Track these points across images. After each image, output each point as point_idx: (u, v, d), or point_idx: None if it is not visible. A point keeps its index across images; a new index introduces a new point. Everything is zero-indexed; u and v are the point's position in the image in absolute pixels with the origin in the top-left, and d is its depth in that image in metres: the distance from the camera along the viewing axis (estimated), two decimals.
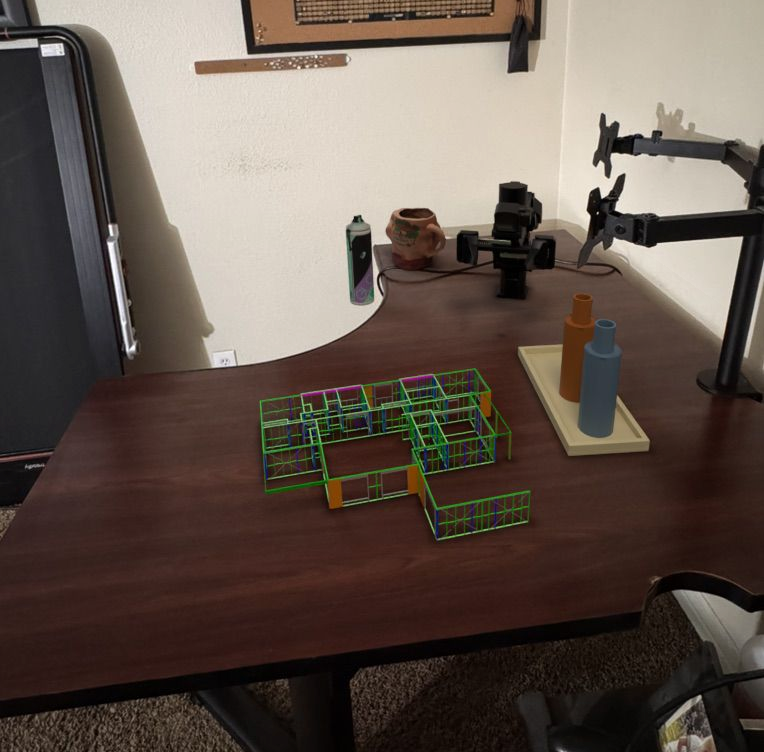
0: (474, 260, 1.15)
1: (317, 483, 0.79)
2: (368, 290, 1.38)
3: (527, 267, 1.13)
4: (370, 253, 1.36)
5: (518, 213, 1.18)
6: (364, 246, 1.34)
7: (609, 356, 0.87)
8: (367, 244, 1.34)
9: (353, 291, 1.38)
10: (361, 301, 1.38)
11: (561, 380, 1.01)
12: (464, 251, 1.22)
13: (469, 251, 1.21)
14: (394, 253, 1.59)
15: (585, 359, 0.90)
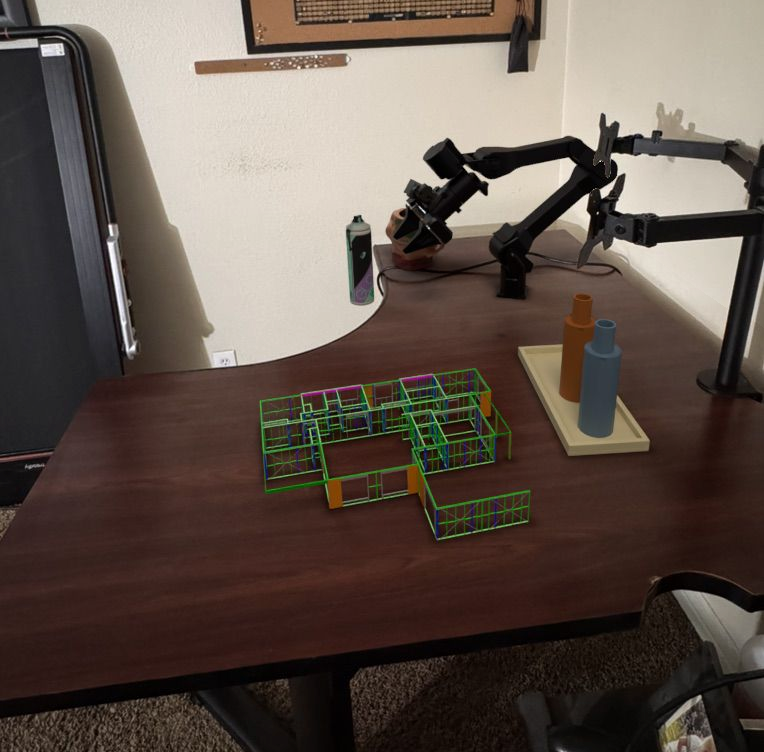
0: (393, 236, 1.37)
1: (317, 483, 0.79)
2: (368, 290, 1.38)
3: (406, 252, 1.28)
4: (370, 253, 1.36)
5: (410, 195, 1.27)
6: (364, 246, 1.34)
7: (609, 356, 0.87)
8: (367, 244, 1.34)
9: (353, 291, 1.38)
10: (361, 301, 1.38)
11: (561, 380, 1.01)
12: None
13: None
14: (394, 253, 1.59)
15: (585, 359, 0.90)
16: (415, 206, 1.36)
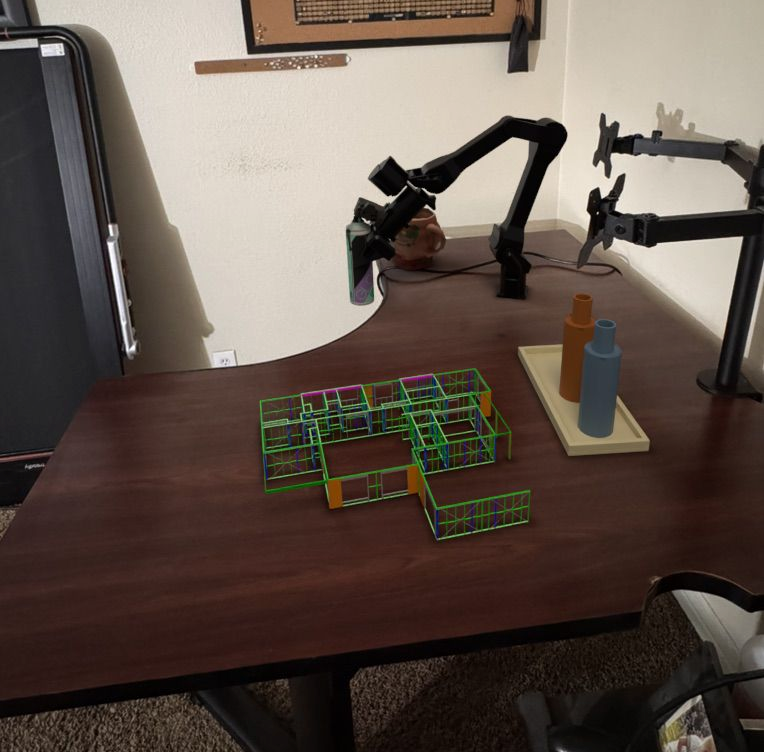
0: None
1: (317, 483, 0.79)
2: (368, 290, 1.38)
3: (356, 266, 1.35)
4: None
5: (356, 214, 1.32)
6: None
7: (609, 356, 0.87)
8: None
9: (353, 291, 1.38)
10: (361, 301, 1.38)
11: (561, 380, 1.01)
12: None
13: None
14: None
15: (585, 359, 0.90)
16: (372, 224, 1.39)
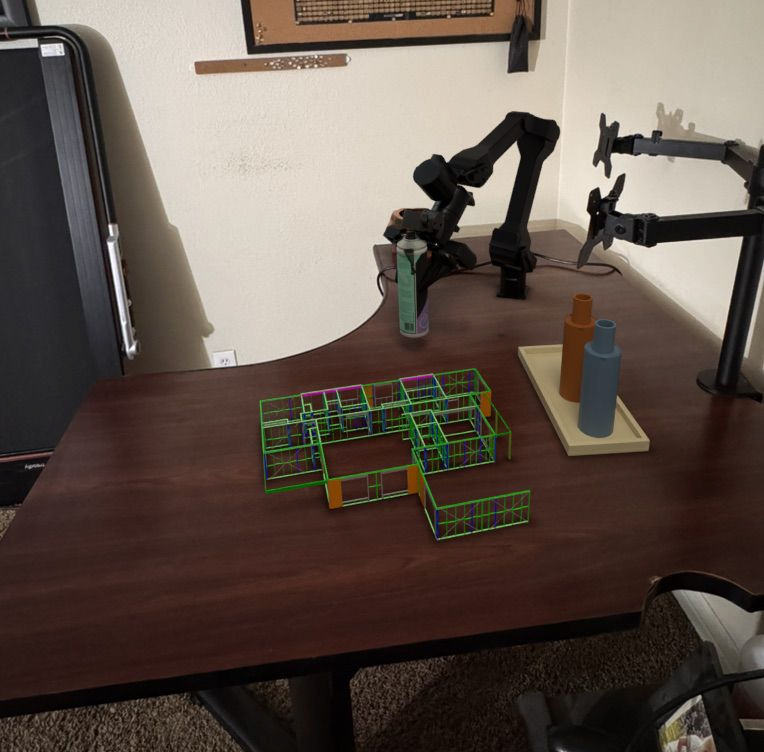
0: (395, 280, 1.16)
1: (317, 483, 0.79)
2: (428, 315, 1.17)
3: (423, 289, 1.13)
4: None
5: (419, 228, 1.10)
6: (426, 264, 1.13)
7: (609, 356, 0.87)
8: None
9: (415, 321, 1.15)
10: (424, 330, 1.17)
11: (561, 380, 1.01)
12: None
13: None
14: (394, 253, 1.59)
15: (585, 359, 0.90)
16: None
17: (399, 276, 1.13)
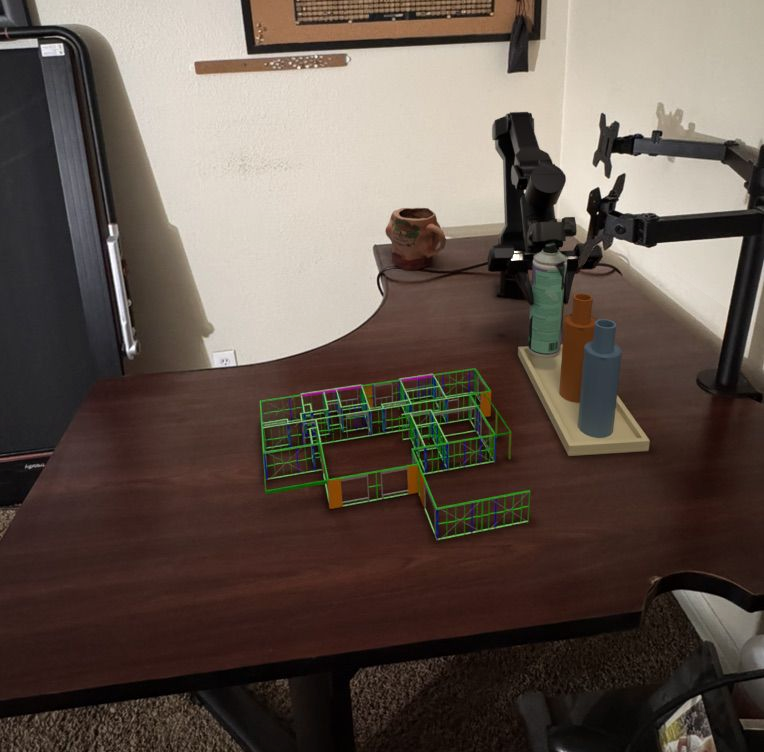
0: (532, 302, 1.05)
1: (317, 483, 0.79)
2: None
3: None
4: None
5: (564, 238, 1.02)
6: None
7: (609, 356, 0.87)
8: None
9: (559, 338, 1.07)
10: None
11: (561, 380, 1.01)
12: (510, 270, 1.08)
13: (515, 270, 1.08)
14: (394, 253, 1.59)
15: (585, 359, 0.90)
16: None
17: (545, 295, 1.03)
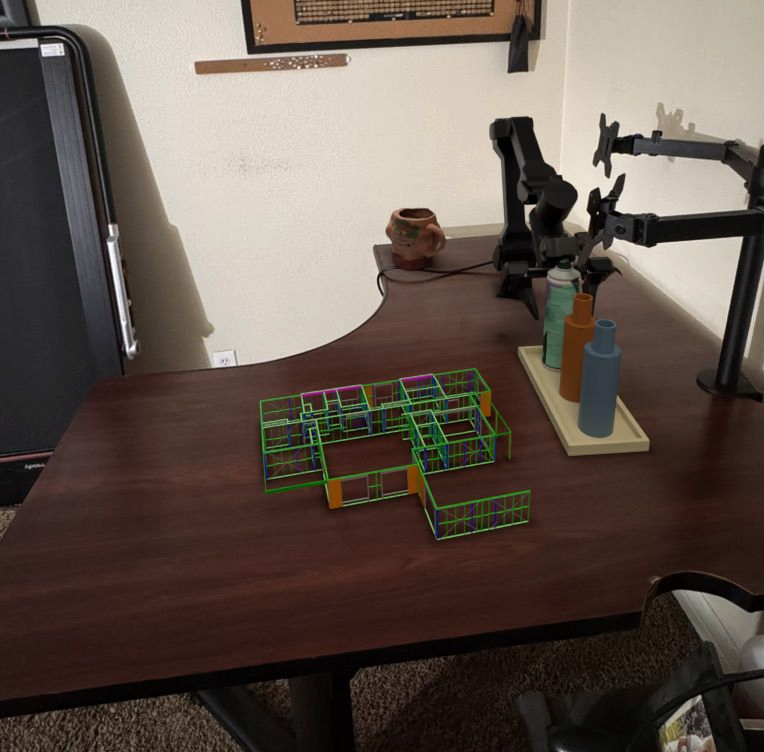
0: (537, 318, 1.06)
1: (317, 483, 0.79)
2: None
3: None
4: None
5: (579, 253, 1.03)
6: None
7: (609, 356, 0.87)
8: None
9: None
10: None
11: (561, 380, 1.01)
12: (513, 286, 1.09)
13: (519, 285, 1.09)
14: (394, 253, 1.59)
15: (585, 359, 0.90)
16: None
17: (561, 311, 1.05)
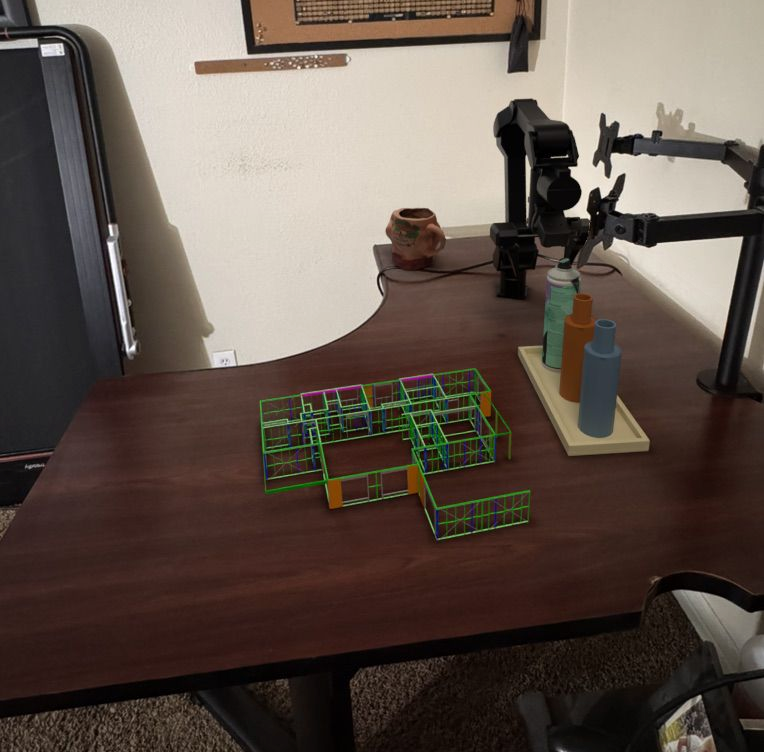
0: (517, 276, 1.17)
1: (317, 483, 0.79)
2: None
3: None
4: None
5: (568, 243, 1.08)
6: None
7: (609, 356, 0.87)
8: None
9: None
10: None
11: (561, 380, 1.01)
12: None
13: None
14: (394, 253, 1.59)
15: (585, 359, 0.90)
16: None
17: (561, 311, 1.05)
